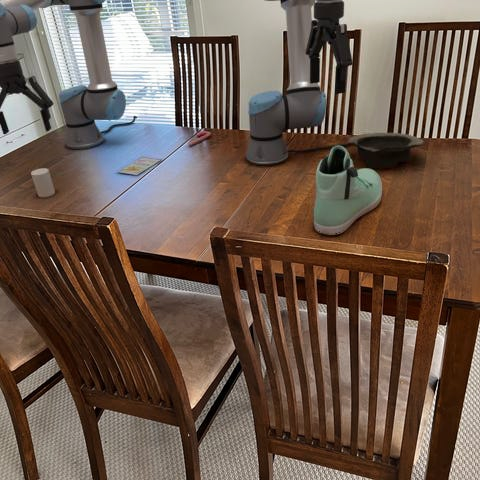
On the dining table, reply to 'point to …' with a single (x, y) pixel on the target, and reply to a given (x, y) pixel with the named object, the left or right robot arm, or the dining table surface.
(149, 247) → the dining table surface
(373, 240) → the dining table surface
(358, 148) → the stone bowl
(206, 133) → the candy cane
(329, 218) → the sneaker
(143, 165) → the baking ingredient package
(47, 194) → the canister
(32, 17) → the left robot arm
